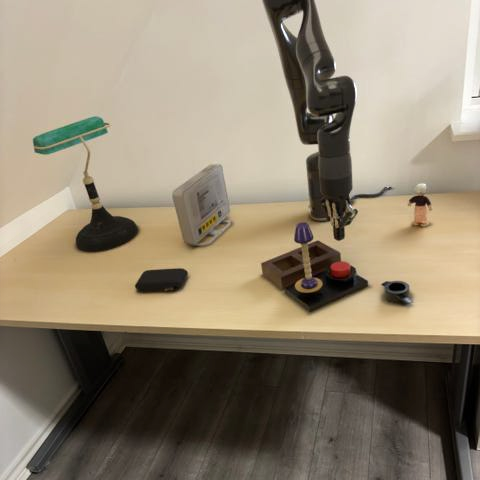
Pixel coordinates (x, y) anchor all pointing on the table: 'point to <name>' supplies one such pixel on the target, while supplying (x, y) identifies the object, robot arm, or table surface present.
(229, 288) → the table surface
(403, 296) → the black winged round part
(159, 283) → the carrying case
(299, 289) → the brass plate
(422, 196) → the grandmother figurine
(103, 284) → the table surface
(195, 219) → the network device
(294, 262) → the rack
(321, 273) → the switch base
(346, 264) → the switch button
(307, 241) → the toy lamp
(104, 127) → the banker's lamp
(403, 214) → the table surface
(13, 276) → the table surface
